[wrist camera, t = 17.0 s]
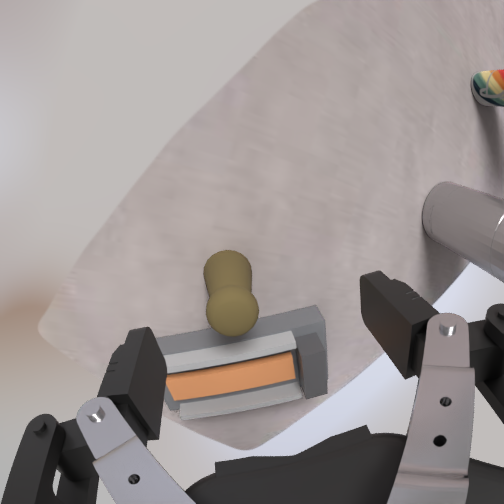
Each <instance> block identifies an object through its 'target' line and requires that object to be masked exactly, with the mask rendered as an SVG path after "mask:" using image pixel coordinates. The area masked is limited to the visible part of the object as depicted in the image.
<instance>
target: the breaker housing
mask: <svg viewBox="0 0 504 504" xmlns="http://www.w3.org/2000/svg"><path fill="white" fill-rule="evenodd" d="M155 339H156V341H157V343H158V345H159V347H160V350H161V352H162V354H163V356H164V358H165V361H166V365H167V375H171V374H178V373H184V372H191V371H197V370H203V369H209V368H215V367H220V366H225V365H231V364H236V363H241V362H246V361H251V360H255V359H260V358H265V357H269V356H274V355H278V354H282V353H286V352H291V354H292V357H293V364H294V371H295V379H290V380H286V381H282V382H278V383H273V384H269V385H264V386H260V387H255V388H250V389H245V390H240V391H234V392H229V393H223V394H217V395H211V396H205V397H198V398H191V399H184V400H176V401H174V399H173V397H172V395H171V393H170V391H169V389H168V387H167V385H166V386H165V394H164V400H165V402H166V404H167V405H168V407H169V409H170V411H171V410H179V409H180V413H179V417H180V418H181V420H188V419H196V418H204V417H211V416H217V415H224V414H230V413H235V412H241V411H246V410H251V409H256V408H261V407H266V406H271V405H275V404H280V403H284V402H288V401H292V400H296V399H300V398H303V395H302V391H301V388H300V387H302V389H303V392H304V395H305V397H306V399H309V398H313V397H317V396H320V395H324V394H328V393H327V379H328V363H327V344H326V328H325V320H324V318H323V316H322V314H321V313H320V311H319V309H318V308H317V306H316V305H314V306H310V307H306V308H302V309H298V310H294V311H289V312H285V313H281V314H276V315H272V316H267V317H263V318H258V319H257V322H256V324H255V325H254V327H253V328H252V329H251V330H249V331H248V332H247V333H245V334H243V335H241V336H235V337H230V336H225V335H222V334H219V333H218V332H217V331H215V330H214V329H213V328H210V329H205V330H199V331H194V332H189V333H183V334H177V335H172V336H166V337H160V338H155Z"/></svg>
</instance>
